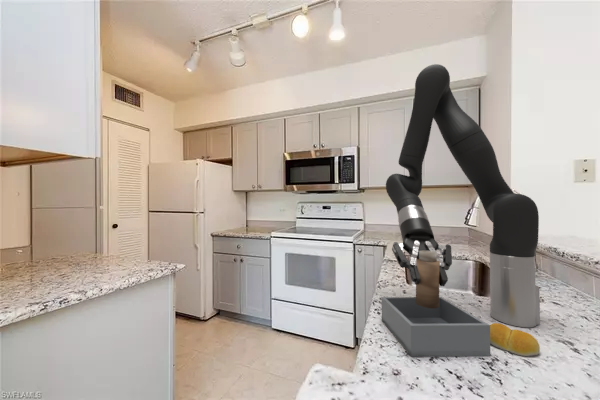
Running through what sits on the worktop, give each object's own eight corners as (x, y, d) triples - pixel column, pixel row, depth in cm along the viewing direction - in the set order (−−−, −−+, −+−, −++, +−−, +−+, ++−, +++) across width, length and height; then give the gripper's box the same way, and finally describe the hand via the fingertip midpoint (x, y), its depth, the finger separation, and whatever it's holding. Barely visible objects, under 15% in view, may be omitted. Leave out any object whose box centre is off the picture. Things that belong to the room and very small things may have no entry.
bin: (442, 320, 66) (441, 297, 66) (490, 355, 50) (490, 325, 50) (381, 320, 65) (381, 297, 66) (411, 356, 49) (410, 325, 50)
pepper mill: (431, 300, 61) (432, 250, 61) (443, 308, 56) (444, 253, 56) (411, 300, 60) (412, 249, 61) (422, 308, 56) (423, 253, 56)
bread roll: (537, 363, 48) (537, 342, 48) (481, 344, 55) (480, 325, 55) (542, 348, 54) (542, 329, 54) (490, 332, 60) (490, 315, 60)
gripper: (389, 215, 67) (400, 272, 55) (447, 217, 65) (471, 276, 53) (384, 233, 72) (394, 289, 60) (438, 235, 70) (459, 293, 58)
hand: (430, 283), depth 56 cm, fingers closed on pepper mill, 4 cm apart
